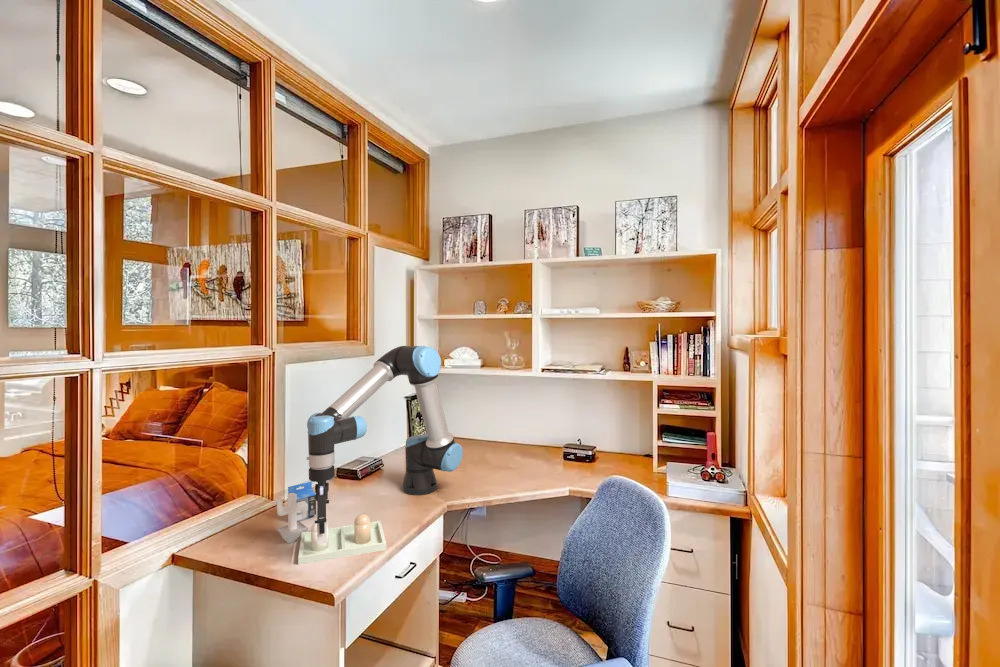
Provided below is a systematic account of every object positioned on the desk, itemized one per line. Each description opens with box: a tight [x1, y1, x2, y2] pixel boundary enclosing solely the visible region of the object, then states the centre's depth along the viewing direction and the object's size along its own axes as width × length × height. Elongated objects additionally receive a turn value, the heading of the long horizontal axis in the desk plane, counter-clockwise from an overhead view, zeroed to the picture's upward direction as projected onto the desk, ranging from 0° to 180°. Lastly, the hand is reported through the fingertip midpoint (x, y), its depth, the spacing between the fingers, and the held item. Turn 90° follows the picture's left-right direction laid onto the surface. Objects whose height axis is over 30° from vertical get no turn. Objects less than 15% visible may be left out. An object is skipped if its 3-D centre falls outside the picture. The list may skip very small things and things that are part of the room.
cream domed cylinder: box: [310, 522, 329, 552], centre depth 144 cm, size 5×5×8 cm
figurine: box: [276, 493, 308, 544], centre depth 152 cm, size 7×9×15 cm
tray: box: [297, 520, 387, 566], centre depth 146 cm, size 25×18×3 cm
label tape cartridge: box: [287, 481, 317, 522], centre depth 169 cm, size 9×4×12 cm, turn 135°
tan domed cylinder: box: [353, 513, 371, 544], centre depth 148 cm, size 5×5×8 cm
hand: (322, 533), depth 144 cm, fingers open, 13 cm apart
